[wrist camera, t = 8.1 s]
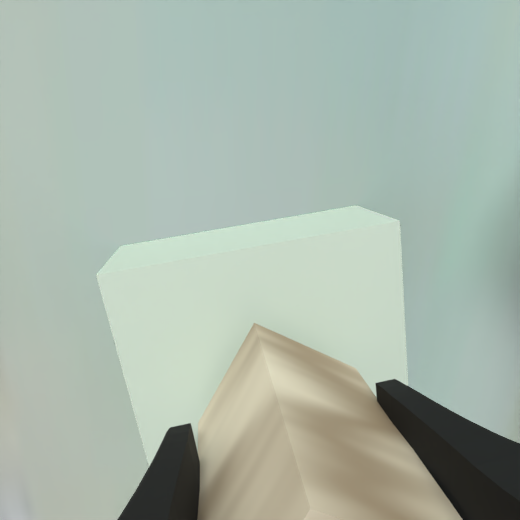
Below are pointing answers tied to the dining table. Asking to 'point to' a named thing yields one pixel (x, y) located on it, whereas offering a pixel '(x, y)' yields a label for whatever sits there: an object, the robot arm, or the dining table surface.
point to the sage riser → (252, 306)
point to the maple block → (306, 443)
